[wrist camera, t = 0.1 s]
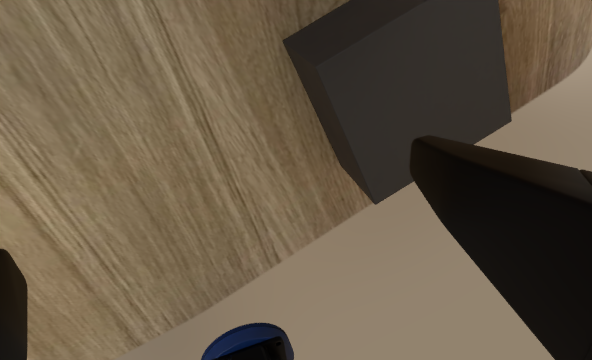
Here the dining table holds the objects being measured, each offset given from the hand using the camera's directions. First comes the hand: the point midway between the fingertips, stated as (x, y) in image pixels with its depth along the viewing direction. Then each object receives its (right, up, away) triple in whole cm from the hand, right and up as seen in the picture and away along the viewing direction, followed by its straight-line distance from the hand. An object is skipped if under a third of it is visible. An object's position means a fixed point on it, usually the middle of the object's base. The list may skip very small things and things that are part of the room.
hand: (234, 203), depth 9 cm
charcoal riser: (+7, +8, +18) cm, 20 cm away
